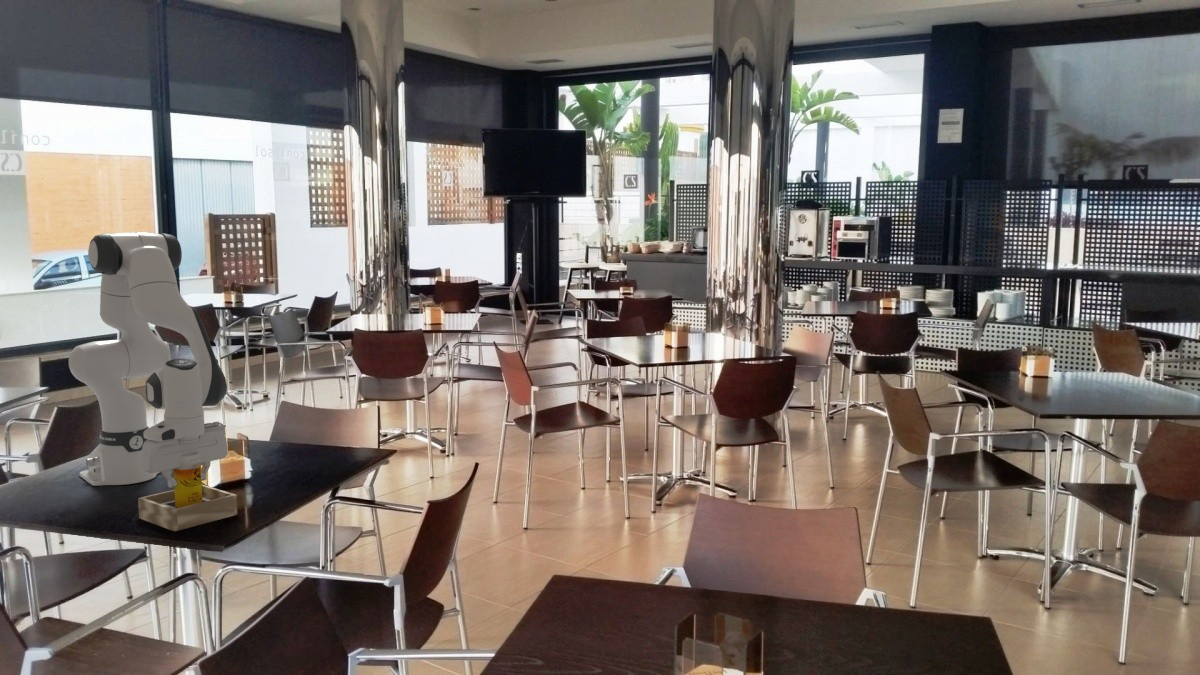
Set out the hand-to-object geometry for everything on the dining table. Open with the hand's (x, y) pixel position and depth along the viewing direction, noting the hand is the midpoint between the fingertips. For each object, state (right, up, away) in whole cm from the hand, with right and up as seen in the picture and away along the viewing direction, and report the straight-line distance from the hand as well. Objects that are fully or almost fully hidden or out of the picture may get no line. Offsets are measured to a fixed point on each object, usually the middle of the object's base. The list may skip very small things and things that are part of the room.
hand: (187, 483), depth 228 cm
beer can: (0, -8, +1) cm, 8 cm away
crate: (0, -8, +1) cm, 8 cm away
